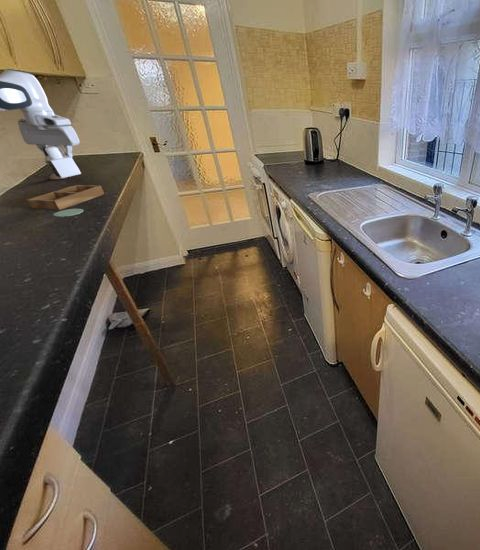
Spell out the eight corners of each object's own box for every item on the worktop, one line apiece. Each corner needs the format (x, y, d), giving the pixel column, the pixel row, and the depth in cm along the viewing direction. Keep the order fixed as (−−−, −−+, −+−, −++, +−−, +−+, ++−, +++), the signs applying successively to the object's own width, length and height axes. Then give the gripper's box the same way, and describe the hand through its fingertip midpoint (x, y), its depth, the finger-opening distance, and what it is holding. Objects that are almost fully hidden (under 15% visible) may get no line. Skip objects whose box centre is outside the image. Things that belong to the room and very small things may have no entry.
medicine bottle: (56, 177, 128) (37, 147, 121) (76, 172, 132) (59, 144, 126) (61, 178, 124) (42, 148, 117) (81, 173, 129) (64, 144, 122)
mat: (46, 216, 113) (46, 215, 113) (67, 208, 121) (67, 208, 121) (69, 217, 113) (69, 216, 113) (89, 209, 121) (89, 208, 121)
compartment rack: (30, 209, 120) (25, 199, 117) (79, 193, 139) (75, 185, 137) (59, 210, 119) (54, 200, 117) (104, 194, 139) (100, 185, 137)
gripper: (7, 119, 114) (27, 157, 121) (59, 120, 114) (76, 158, 121) (24, 118, 120) (42, 154, 127) (73, 120, 120) (89, 156, 127)
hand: (59, 156), depth 124 cm, fingers closed on medicine bottle, 7 cm apart
